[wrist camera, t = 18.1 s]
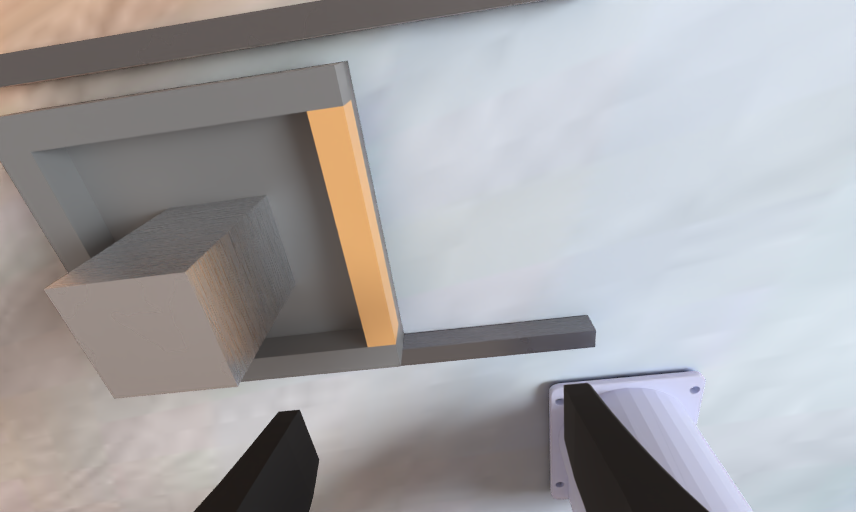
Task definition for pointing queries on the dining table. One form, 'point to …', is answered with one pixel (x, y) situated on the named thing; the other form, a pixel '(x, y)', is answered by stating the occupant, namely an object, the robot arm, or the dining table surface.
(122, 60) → the track
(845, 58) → the dining table surface
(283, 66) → the dining table surface
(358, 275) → the grey shallow tray
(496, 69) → the dining table surface
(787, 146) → the dining table surface
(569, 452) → the robot arm
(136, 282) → the metal part
